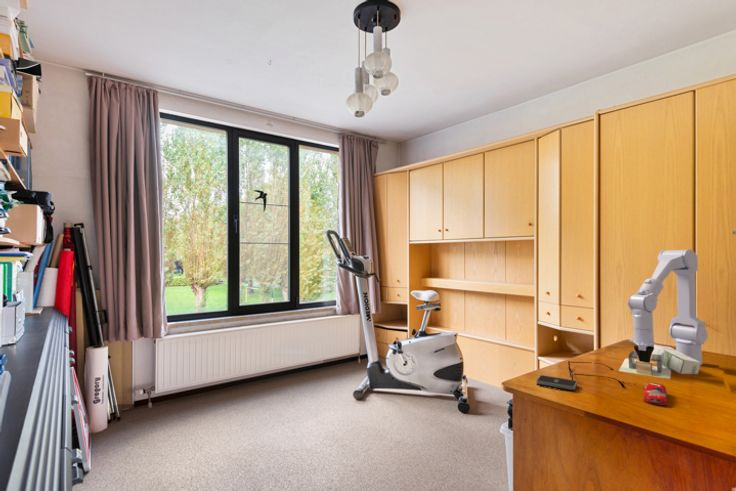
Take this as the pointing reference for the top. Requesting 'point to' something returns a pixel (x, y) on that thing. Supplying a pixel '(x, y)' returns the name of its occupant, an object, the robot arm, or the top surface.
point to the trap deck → (664, 374)
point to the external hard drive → (557, 383)
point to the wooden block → (644, 368)
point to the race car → (655, 394)
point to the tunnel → (654, 358)
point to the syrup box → (677, 360)
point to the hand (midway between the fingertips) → (644, 367)
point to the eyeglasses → (590, 375)
